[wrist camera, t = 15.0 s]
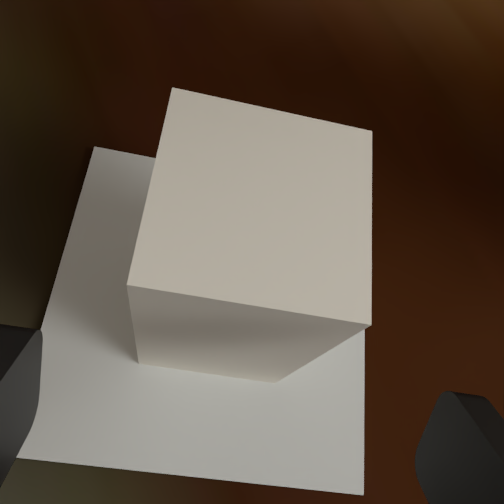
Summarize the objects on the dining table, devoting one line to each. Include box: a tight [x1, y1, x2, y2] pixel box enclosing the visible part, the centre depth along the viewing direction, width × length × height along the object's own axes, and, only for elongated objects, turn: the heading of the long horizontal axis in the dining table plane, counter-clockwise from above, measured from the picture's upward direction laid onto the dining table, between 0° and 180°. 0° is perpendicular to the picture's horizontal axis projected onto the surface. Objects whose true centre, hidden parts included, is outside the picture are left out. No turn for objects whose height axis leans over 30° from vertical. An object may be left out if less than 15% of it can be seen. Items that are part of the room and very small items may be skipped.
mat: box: [16, 146, 365, 495], centre depth 21 cm, size 14×14×1 cm
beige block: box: [127, 87, 372, 383], centre depth 17 cm, size 6×6×10 cm
